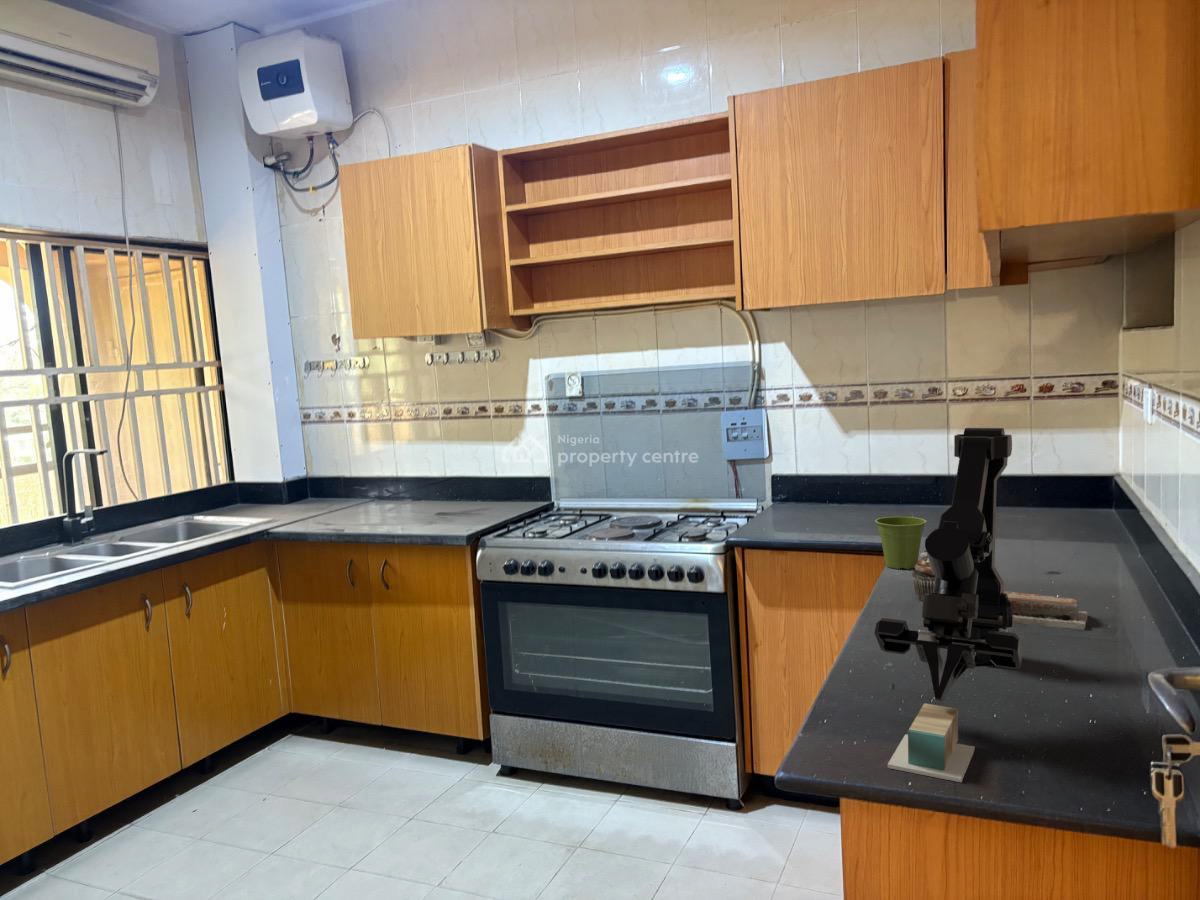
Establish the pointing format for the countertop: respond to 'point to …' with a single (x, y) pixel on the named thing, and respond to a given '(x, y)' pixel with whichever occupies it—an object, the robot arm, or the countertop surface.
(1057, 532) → the countertop surface
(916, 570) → the cupcake
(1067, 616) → the stepped brick
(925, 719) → the block
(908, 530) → the plant pot
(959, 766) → the mat
